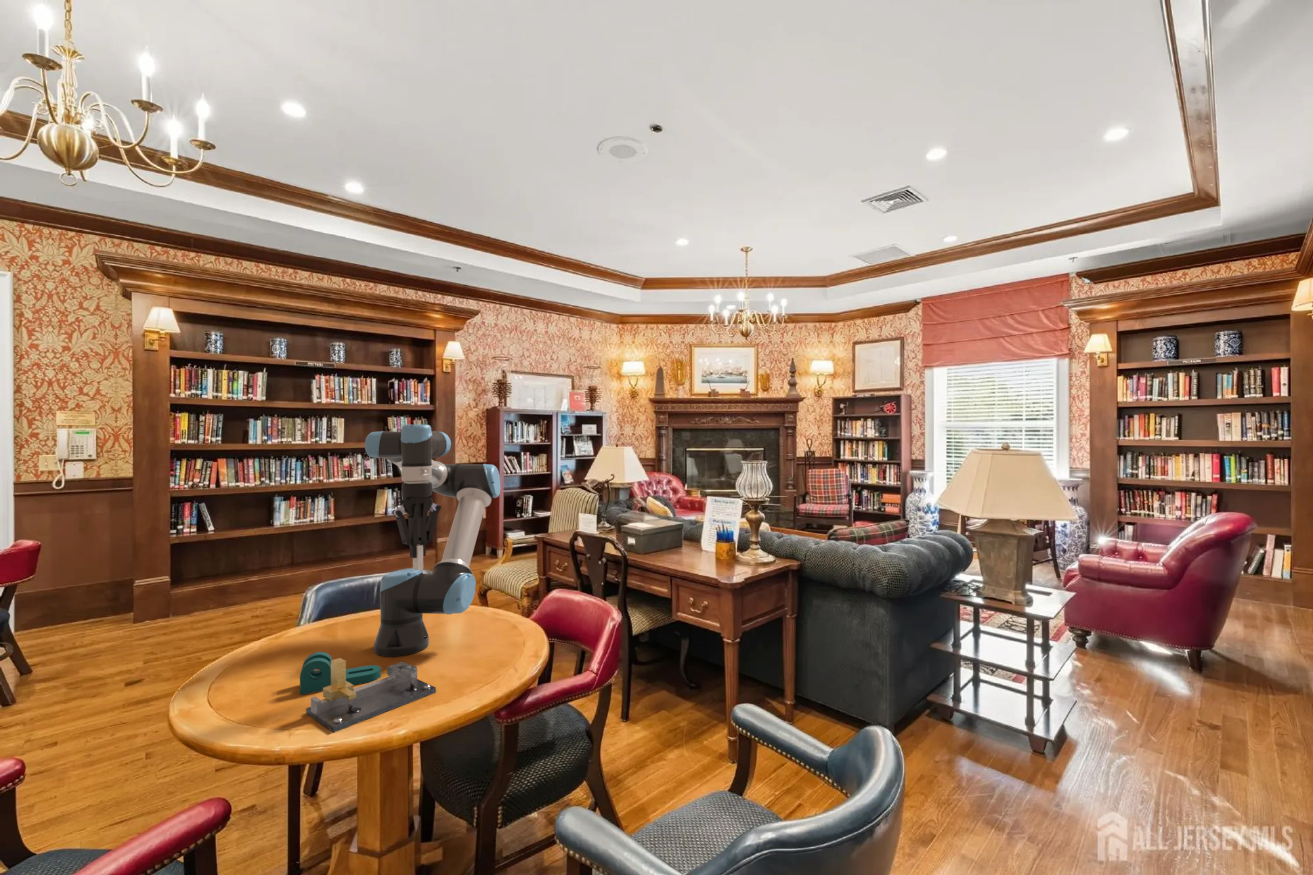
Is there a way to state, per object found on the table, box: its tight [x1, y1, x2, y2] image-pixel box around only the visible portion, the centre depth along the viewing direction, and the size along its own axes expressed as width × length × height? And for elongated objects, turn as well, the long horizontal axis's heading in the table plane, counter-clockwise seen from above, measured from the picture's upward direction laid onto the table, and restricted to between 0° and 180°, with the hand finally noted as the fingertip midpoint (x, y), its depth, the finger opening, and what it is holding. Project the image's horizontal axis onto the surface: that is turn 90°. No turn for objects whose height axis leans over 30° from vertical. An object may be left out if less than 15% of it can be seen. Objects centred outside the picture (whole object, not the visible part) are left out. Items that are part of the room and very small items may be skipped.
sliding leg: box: [322, 657, 356, 711], centre depth 131 cm, size 9×5×10 cm, turn 53°
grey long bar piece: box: [310, 661, 418, 715], centre depth 136 cm, size 9×24×4 cm, turn 143°
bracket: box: [299, 651, 382, 695], centre depth 147 cm, size 18×7×8 cm, turn 117°
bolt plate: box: [305, 678, 437, 733], centre depth 136 cm, size 14×24×2 cm, turn 143°
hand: (418, 568), depth 153 cm, fingers closed
